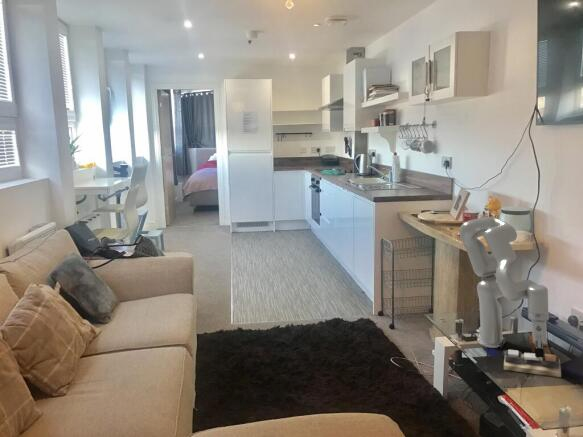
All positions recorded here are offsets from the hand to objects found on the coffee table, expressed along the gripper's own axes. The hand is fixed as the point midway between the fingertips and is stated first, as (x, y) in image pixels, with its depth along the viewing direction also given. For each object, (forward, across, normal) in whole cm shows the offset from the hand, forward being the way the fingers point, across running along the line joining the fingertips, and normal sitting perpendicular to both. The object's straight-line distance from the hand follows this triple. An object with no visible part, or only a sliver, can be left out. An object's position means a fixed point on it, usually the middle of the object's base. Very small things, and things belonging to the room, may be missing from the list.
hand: (539, 356), depth 192 cm
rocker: (+1, +1, +3) cm, 3 cm away
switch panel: (+5, +1, +3) cm, 6 cm away
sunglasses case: (+6, +18, 0) cm, 19 cm away
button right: (+2, +1, -4) cm, 5 cm away
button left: (+2, +1, +10) cm, 10 cm away
